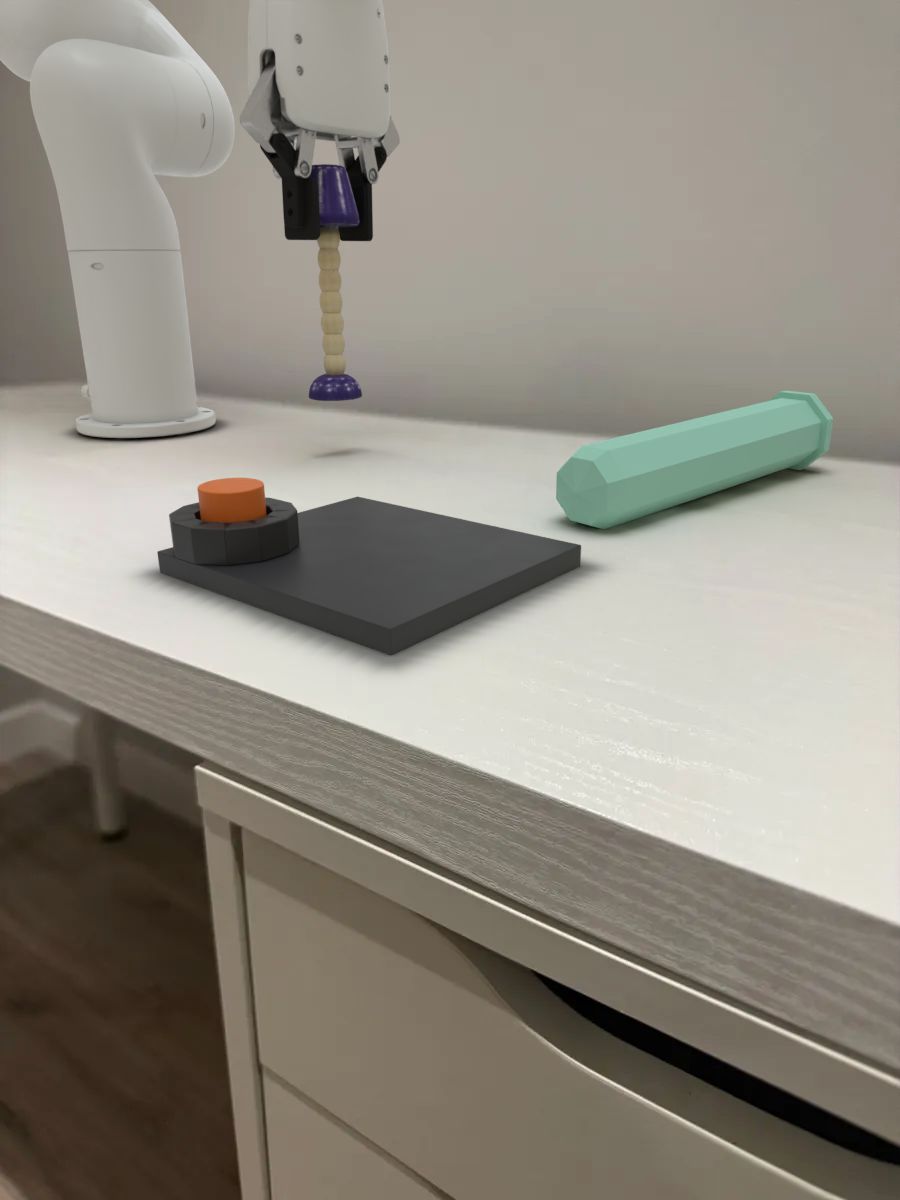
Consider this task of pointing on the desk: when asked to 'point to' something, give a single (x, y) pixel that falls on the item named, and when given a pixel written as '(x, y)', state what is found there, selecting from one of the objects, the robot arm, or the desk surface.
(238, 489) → the button
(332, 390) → the toy lamp
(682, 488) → the container
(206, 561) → the scale
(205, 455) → the desk surface
